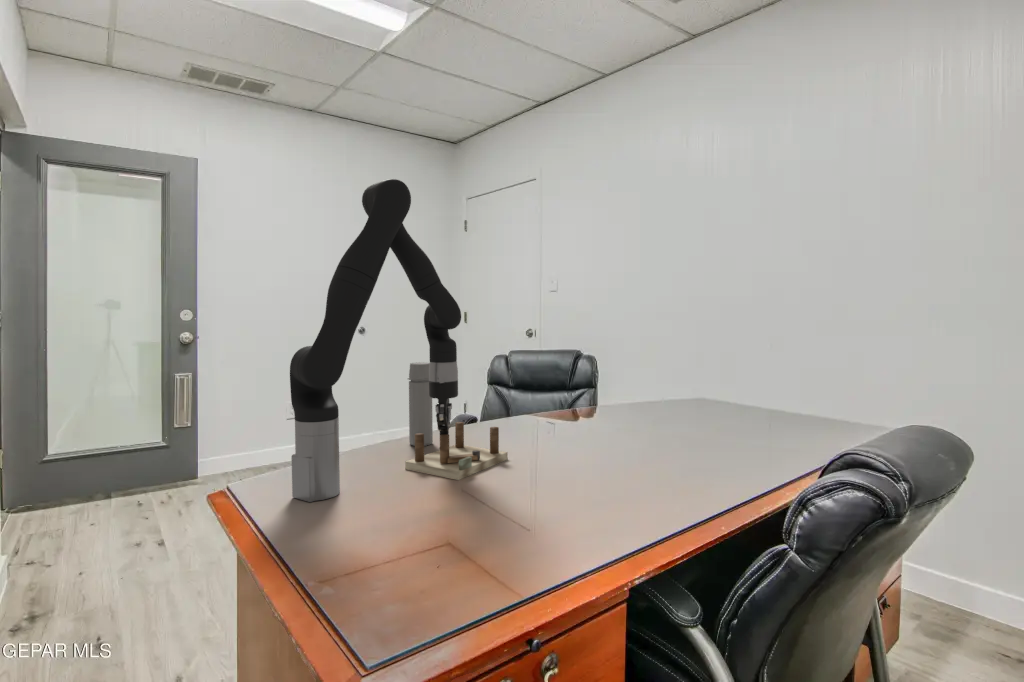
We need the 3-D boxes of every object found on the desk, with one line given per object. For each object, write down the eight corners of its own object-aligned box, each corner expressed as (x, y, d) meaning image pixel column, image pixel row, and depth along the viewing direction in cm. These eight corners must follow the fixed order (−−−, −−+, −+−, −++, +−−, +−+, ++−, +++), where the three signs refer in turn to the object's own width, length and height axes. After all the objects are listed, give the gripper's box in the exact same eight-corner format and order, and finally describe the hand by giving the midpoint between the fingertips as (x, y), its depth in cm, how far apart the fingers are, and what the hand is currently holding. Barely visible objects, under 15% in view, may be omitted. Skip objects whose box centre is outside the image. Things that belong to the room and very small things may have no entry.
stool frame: (458, 480, 134) (458, 443, 134) (405, 469, 143) (405, 434, 143) (507, 459, 153) (507, 427, 152) (457, 450, 162) (457, 420, 161)
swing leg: (478, 457, 146) (478, 431, 146) (481, 459, 144) (481, 433, 144) (438, 461, 142) (438, 434, 142) (441, 463, 140) (441, 436, 140)
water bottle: (431, 447, 166) (431, 364, 165) (405, 447, 166) (404, 364, 165) (436, 440, 175) (436, 361, 174) (412, 439, 175) (411, 361, 174)
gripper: (432, 375, 150) (433, 438, 151) (425, 382, 137) (426, 451, 138) (459, 375, 150) (460, 438, 152) (455, 382, 137) (456, 450, 138)
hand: (444, 444), depth 145 cm, fingers closed
